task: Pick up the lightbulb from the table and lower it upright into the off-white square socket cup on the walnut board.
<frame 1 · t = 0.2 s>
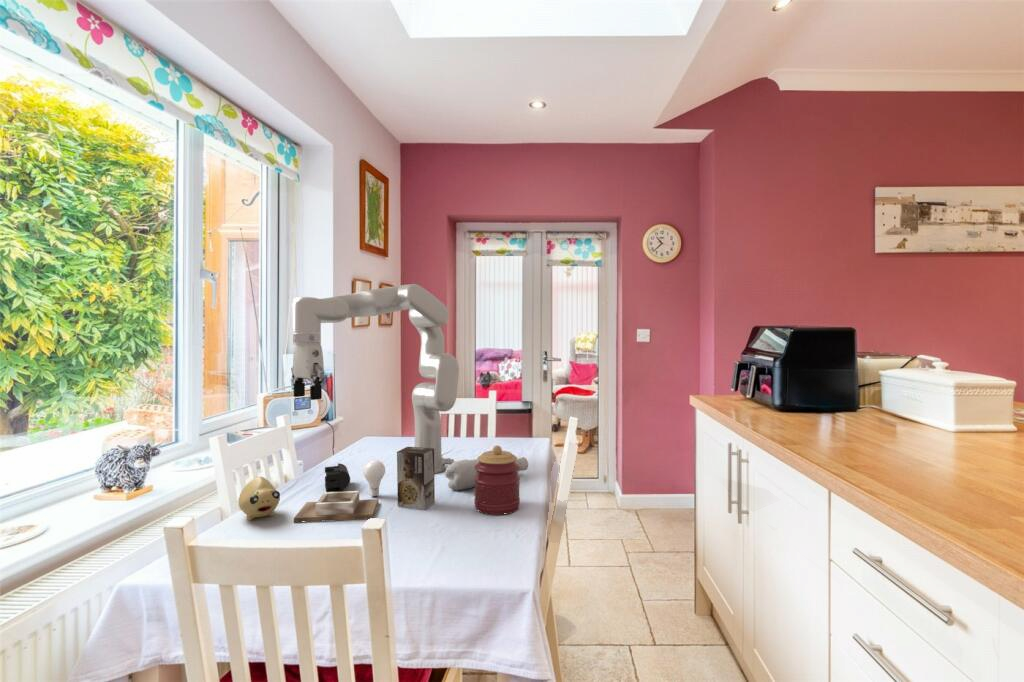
hand: (307, 397, 143), 31 cm above the table, tool pointing down, fingers open, 9 cm apart
coffee box: (416, 505, 140), on the table
canister: (497, 508, 139), on the table
golden cartoon creature figurine: (260, 518, 131), on the table
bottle: (490, 483, 162), on the table
lightbulb: (374, 497, 148), on the table
socket board: (338, 512, 135), on the table
end cap: (337, 488, 156), on the table
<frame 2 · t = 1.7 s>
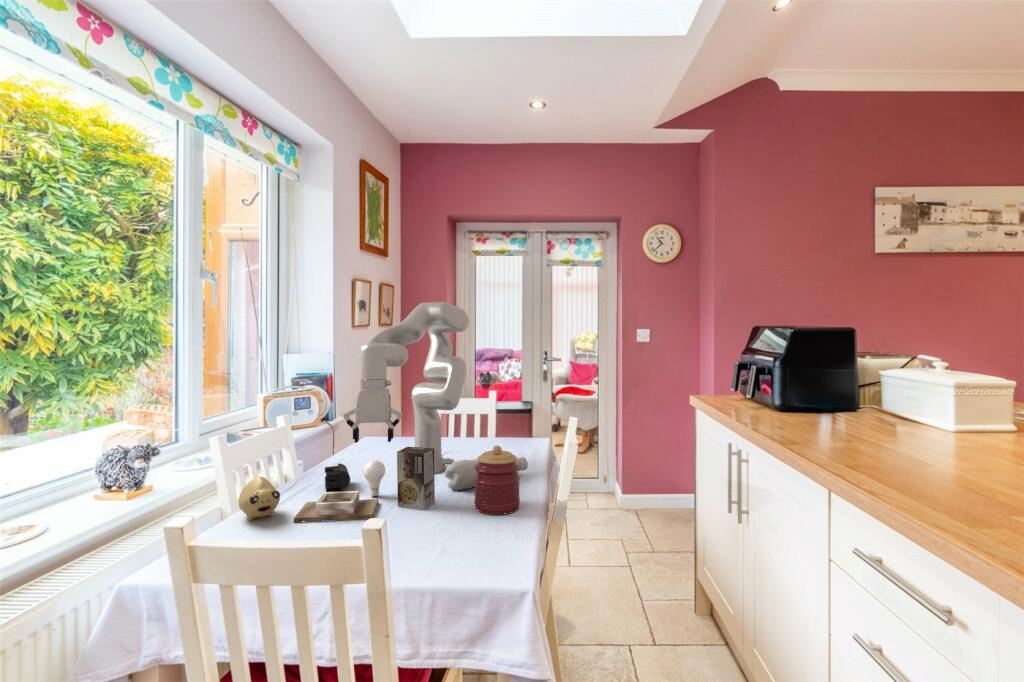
hand: (373, 441, 147), 17 cm above the table, tool pointing down, fingers open, 9 cm apart
nothing on the table moved.
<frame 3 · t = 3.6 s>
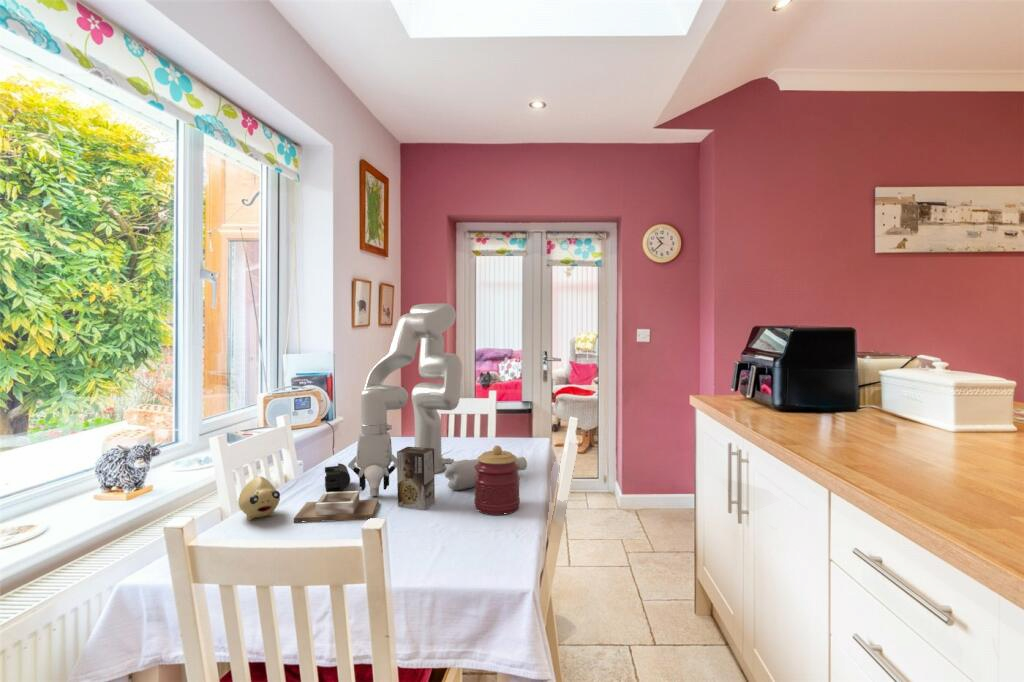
hand: (374, 488, 148), 3 cm above the table, tool pointing down, fingers closed on lightbulb, 5 cm apart
lightbulb: (374, 497, 148), on the table, touching gripper
everything else where it was.
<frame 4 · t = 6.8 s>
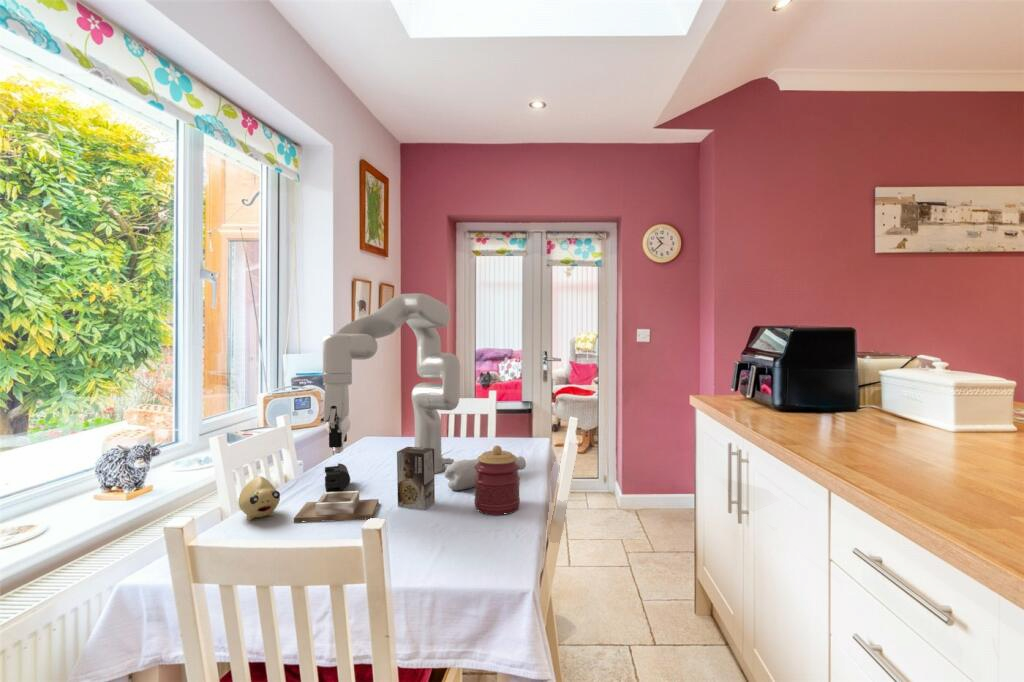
hand: (338, 443, 134), 19 cm above the table, tool pointing down, fingers closed on lightbulb, 5 cm apart
lightbulb: (338, 453, 134), point 16 cm above the table, touching gripper
everything else where it was.
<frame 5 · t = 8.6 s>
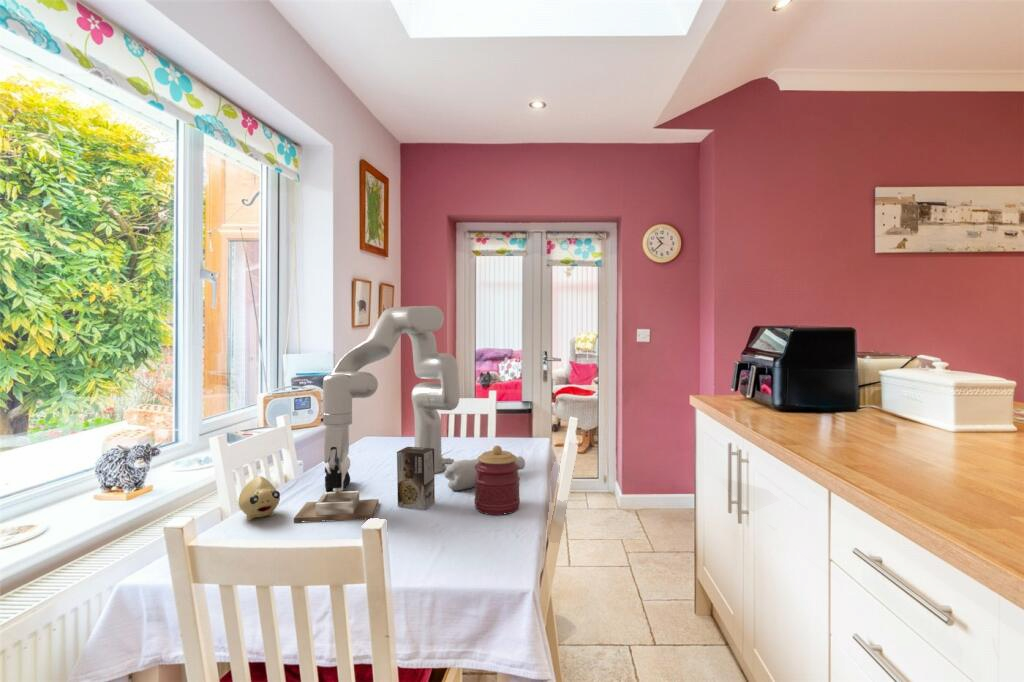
hand: (338, 483, 134), 8 cm above the table, tool pointing down, fingers closed on lightbulb, 5 cm apart
lightbulb: (338, 493, 135), point 5 cm above the table, touching gripper
everything else where it was.
when the fingers open (5 cm above the table, at t = 10.2 s): lightbulb drops 1 cm, resting on socket board.
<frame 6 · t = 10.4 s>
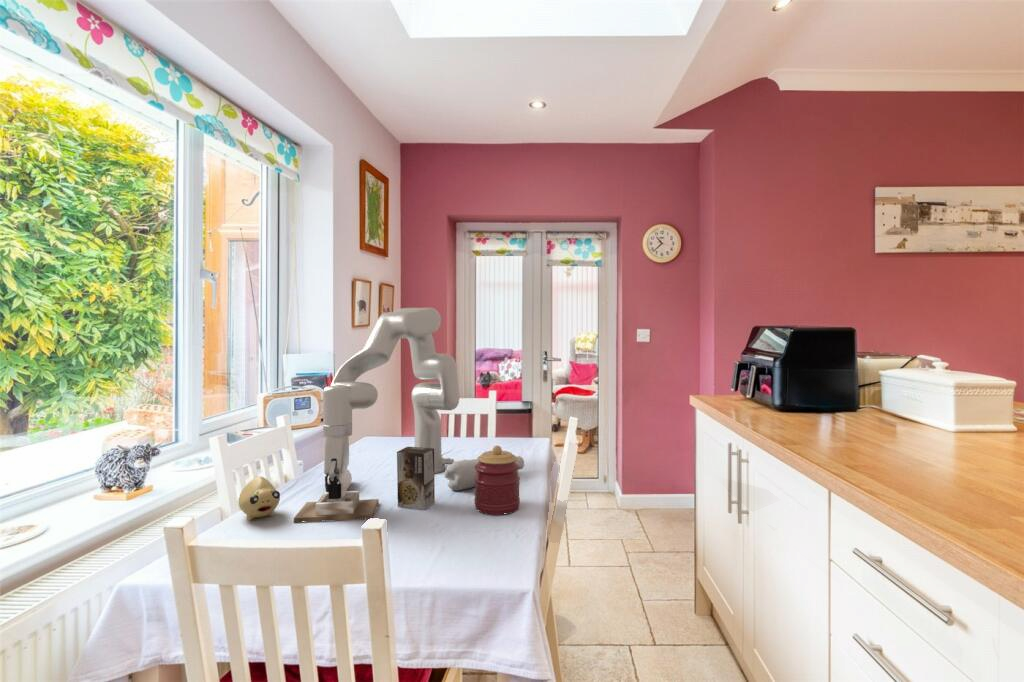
hand: (338, 493, 135), 5 cm above the table, tool pointing down, fingers open, 7 cm apart
lightbulb: (339, 507, 135), point 1 cm above the table, touching socket board
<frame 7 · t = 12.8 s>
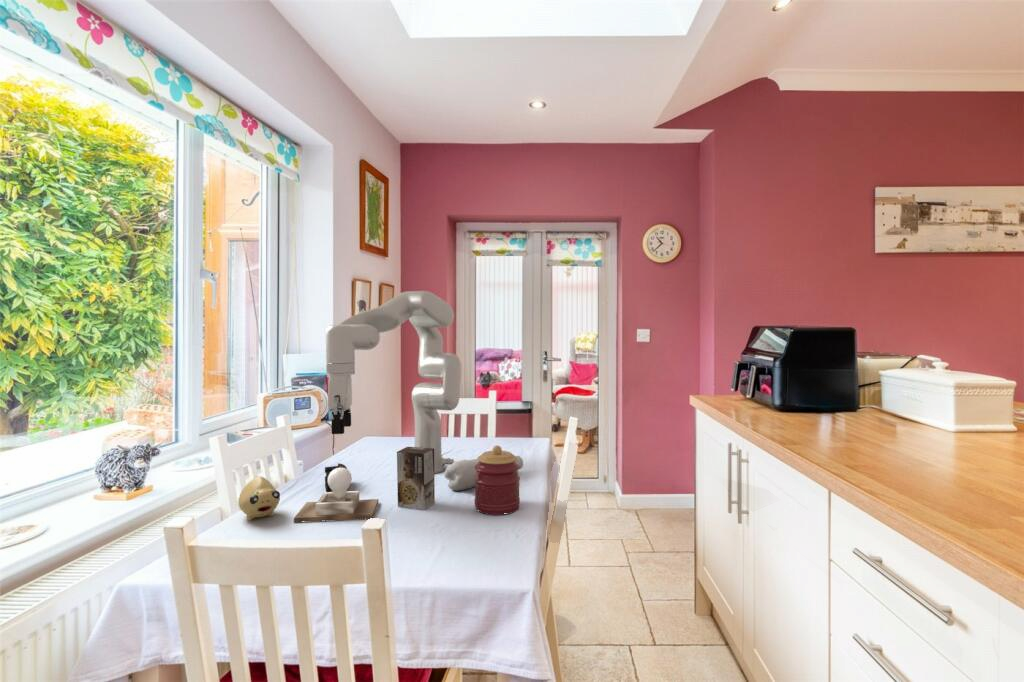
hand: (341, 430, 137), 22 cm above the table, tool pointing down, fingers open, 9 cm apart
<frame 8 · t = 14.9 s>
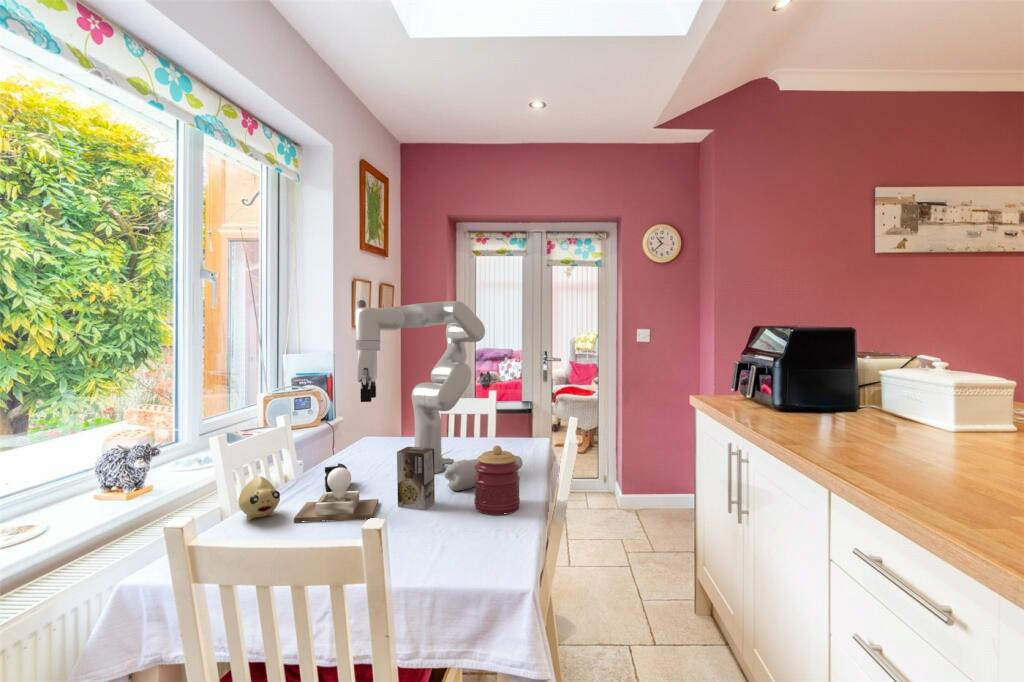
hand: (368, 399, 156), 28 cm above the table, tool pointing down, fingers open, 9 cm apart
at the end: lightbulb 0.6 cm off-centre on the socket board, point 1.0 cm above the socket board's base; lightbulb tilted 0°; the gripper is holding nothing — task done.
